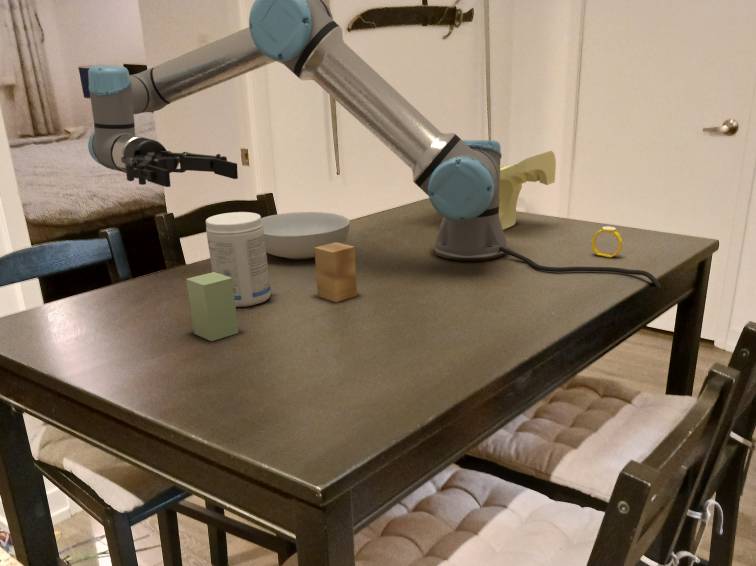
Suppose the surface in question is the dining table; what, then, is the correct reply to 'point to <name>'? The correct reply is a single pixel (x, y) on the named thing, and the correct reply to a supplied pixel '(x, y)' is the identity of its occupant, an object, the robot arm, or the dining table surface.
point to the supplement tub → (240, 255)
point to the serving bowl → (302, 233)
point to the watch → (607, 230)
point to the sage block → (212, 306)
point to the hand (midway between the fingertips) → (203, 174)
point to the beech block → (336, 271)
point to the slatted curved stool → (520, 173)
